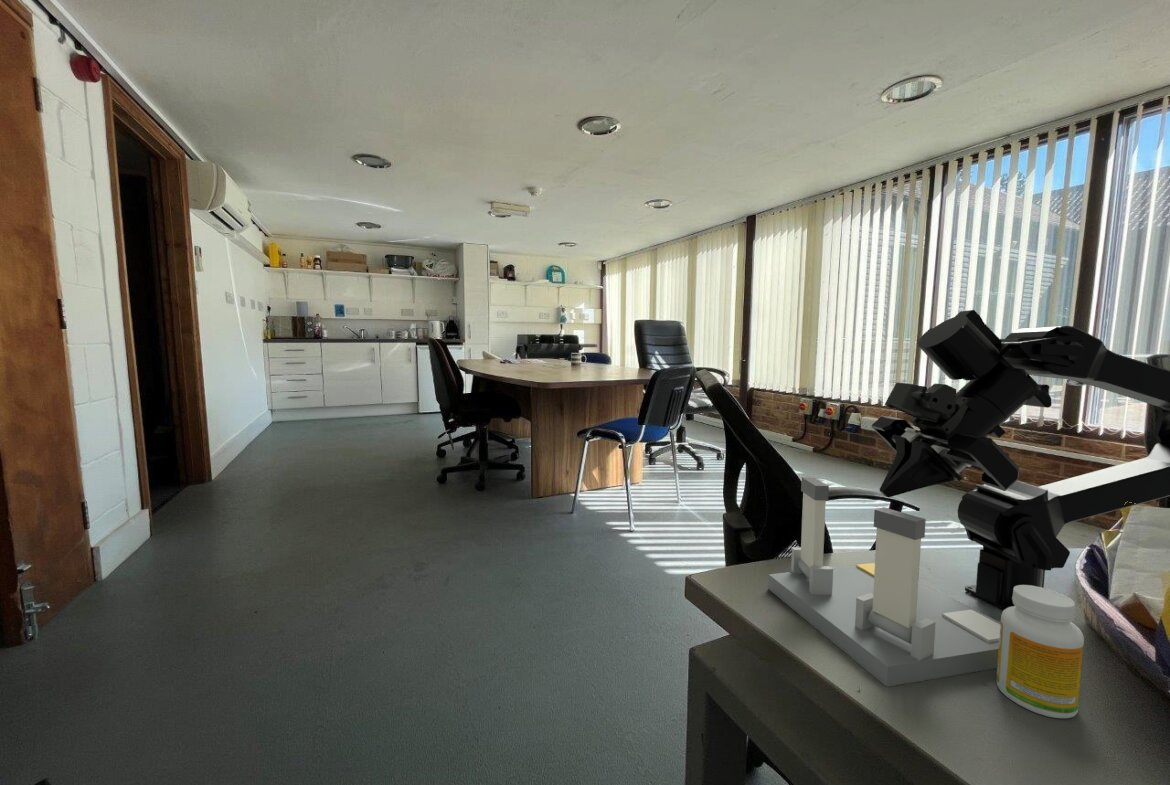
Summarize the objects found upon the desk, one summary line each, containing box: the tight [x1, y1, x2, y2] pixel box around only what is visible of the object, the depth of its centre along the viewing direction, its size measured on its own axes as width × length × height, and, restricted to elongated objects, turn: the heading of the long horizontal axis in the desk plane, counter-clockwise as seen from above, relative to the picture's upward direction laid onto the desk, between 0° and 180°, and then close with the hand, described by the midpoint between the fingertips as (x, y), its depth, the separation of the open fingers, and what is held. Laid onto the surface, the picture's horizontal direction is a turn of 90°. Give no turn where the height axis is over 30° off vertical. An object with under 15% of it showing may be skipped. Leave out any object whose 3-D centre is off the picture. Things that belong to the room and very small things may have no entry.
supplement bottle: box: [996, 585, 1085, 719], centre depth 43 cm, size 5×5×10 cm
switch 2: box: [868, 507, 927, 644], centre depth 48 cm, size 2×4×12 cm, turn 27°
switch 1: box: [797, 476, 830, 579], centre depth 60 cm, size 2×4×12 cm, turn 178°
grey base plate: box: [768, 546, 1001, 688], centre depth 56 cm, size 18×19×5 cm
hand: (883, 494), depth 59 cm, fingers closed
